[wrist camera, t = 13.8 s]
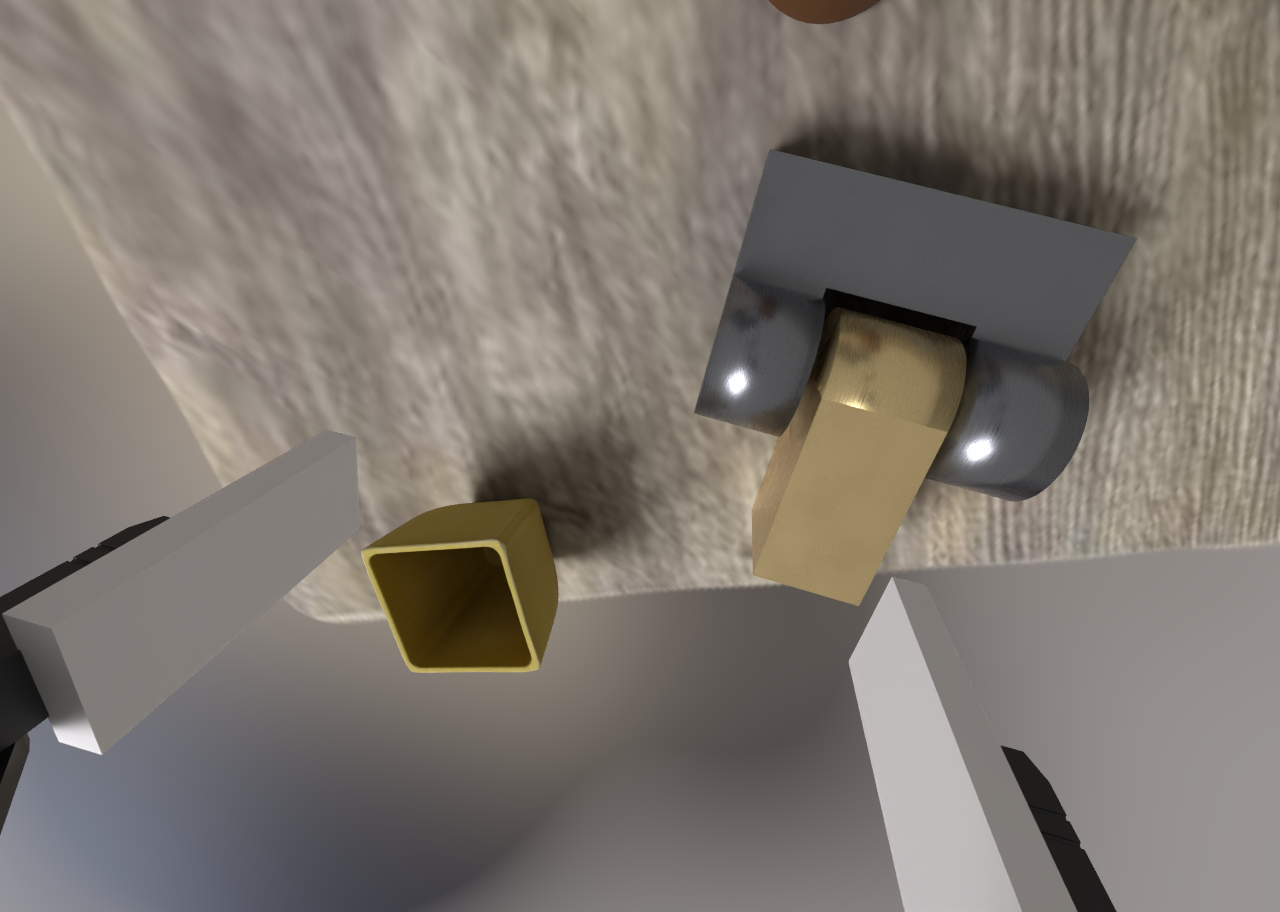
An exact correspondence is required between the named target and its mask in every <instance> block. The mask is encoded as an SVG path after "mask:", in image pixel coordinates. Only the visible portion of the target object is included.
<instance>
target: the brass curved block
mask: <svg viewBox="0 0 1280 912" xmlns="http://www.w3.org/2000/svg"><path fill="white" fill-rule="evenodd" d="M965 377H966V353H965V349H964V346H963V344H962V343H961V341H960V340H959V339H957V338H955V337H951V336H947V335H943V334H939V333H936V332H932V331H928V330H924V329H920V328H916V327H912V326H909V325H905V324H901V323H897V322H893V321H889V320H885V319H882V318H878V317H874V316H870V315H866V314H862V313H858V312H855V311H851V310H847V309H843V308H839V307H836V308H835V309H833V310H832V311H831V312H830V314H829V315H828V317H827V318H826V320H825V321H824V325H823V330H822V335H821V339H820V343H819V347H818V351H817V354H816V358H815V361H814V364H813V368H812V371H811V374H810V377H809V380H808V382H807V385H806V388H805V391H804V393H803V396H802V398H801V401H800V403H799V406H798V408H797V410H796V412H795V414H794V416H793V418H792V420H791V422H790V424H789V426H788V427H787V429H786V430H785V432H784V433H783V434H782V435H781V436H779V437H778V440H777V443H776V446H775V448H774V451H773V454H772V456H771V459H770V462H769V465H768V467H767V470H766V473H765V476H764V478H763V481H762V484H761V486H760V489H759V492H758V495H757V497H756V500H755V503H754V506H753V508H752V549H753V575H755V576H758V577H762V578H765V579H768V580H772V581H775V582H779V583H782V584H785V585H789V586H792V587H796V588H799V589H802V590H806V591H809V592H813V593H816V594H819V595H823V596H826V597H830V598H833V599H836V600H840V601H843V602H847V603H850V604H853V605H857V606H859V605H860V603H861V601H862V599H863V597H864V595H865V593H866V591H867V589H868V587H869V585H870V583H871V581H872V579H873V577H874V576H875V574H876V572H877V570H878V568H879V566H880V564H881V562H882V560H883V558H884V556H885V554H886V552H887V550H888V548H889V546H890V544H891V542H892V540H893V538H894V536H895V534H896V532H897V531H898V529H899V527H900V525H901V523H902V521H903V519H904V517H905V515H906V513H907V511H908V509H909V507H910V505H911V503H912V501H913V499H914V497H915V495H916V493H917V491H918V489H919V487H920V486H921V484H922V482H923V480H924V478H925V476H926V474H927V472H928V470H929V468H930V466H931V464H932V462H933V460H934V458H935V456H936V454H937V452H938V450H939V448H940V446H941V444H942V442H943V441H944V439H945V437H946V435H947V433H948V431H949V429H950V426H951V424H952V422H953V420H954V417H955V415H956V412H957V409H958V406H959V404H960V400H961V397H962V393H963V388H964V384H965Z"/></svg>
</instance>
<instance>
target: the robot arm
mask: <svg viewBox="0 0 1280 912" xmlns="http://www.w3.org/2000/svg"><path fill="white" fill-rule="evenodd" d="M359 529H360V519H359V498H358V477H357V456H356V437H353V436H349V435H345V434H341V433H337V432H334V431H330V430H325V431H323V432H321V433H320V434H318V435H316V436H314V437H312V438H311V439H309V440H307V441H305V442H304V443H302V444H300V445H298V446H297V447H295V448H293V449H291V450H290V451H288V452H286V453H284V454H283V455H281V456H279V457H277V458H275V459H274V460H272V461H270V462H268V463H267V464H265V465H263V466H261V467H260V468H258V469H256V470H254V471H253V472H251V473H249V474H247V475H246V476H244V477H242V478H240V479H238V480H237V481H235V482H233V483H231V484H230V485H228V486H226V487H224V488H223V489H221V490H219V491H217V492H216V493H214V494H212V495H210V496H209V497H207V498H205V499H203V500H202V501H200V502H198V503H196V504H194V505H193V506H191V507H189V508H188V509H186V510H184V511H182V512H180V513H179V514H177V515H175V516H173V517H172V518H170V517H166V516H162V517H159V518H156V519H153V520H150V521H147V522H144V523H141V524H137V525H135V526H132V527H129V528H127V529H125V530H123V531H121V532H119V533H117V534H116V535H114V536H112V537H110V538H108V539H106V540H104V541H103V542H101V543H99V544H98V547H96V548H94V547H92V548H90V549H88V550H86V551H84V552H82V553H81V554H79V555H77V556H75V557H74V558H73V560H72V561H71V562H69V561H66V562H64V563H62V564H60V565H58V566H57V567H55V568H53V569H51V570H49V571H47V572H46V573H44V574H42V575H40V576H38V577H37V578H35V579H33V580H31V581H29V582H27V583H25V584H24V585H22V586H20V587H18V588H16V589H14V590H13V591H11V592H9V593H7V594H5V595H3V596H2V597H0V834H1V831H2V828H3V825H4V822H5V819H6V817H7V814H8V811H9V808H10V805H11V802H12V799H13V796H14V794H15V790H16V788H17V785H18V782H19V779H20V776H21V773H22V770H23V767H24V764H25V762H26V759H27V756H28V753H29V744H30V743H29V742H30V738H29V736H28V734H27V733H28V732H29V731H30V730H32V729H33V728H34V727H35V726H37V725H38V724H39V723H41V722H42V721H44V720H45V719H46V718H47V717H48V718H49V721H50V723H51V725H52V727H53V730H54V732H55V734H56V736H57V738H58V740H59V742H62V743H65V744H68V745H72V746H75V747H78V748H81V749H84V750H88V751H91V752H94V753H97V754H101V755H103V754H104V753H105V752H106V751H107V750H108V749H110V748H111V747H112V746H113V745H114V744H115V743H116V742H117V741H119V740H120V739H121V738H122V737H123V736H124V735H126V734H127V733H128V732H129V731H130V730H131V729H132V728H134V726H136V725H137V724H138V723H139V722H140V721H142V720H143V719H144V718H145V717H146V716H147V715H148V714H150V713H151V712H152V711H153V710H154V709H155V708H156V707H158V706H159V705H160V704H161V703H162V702H163V701H164V700H166V699H167V698H168V697H169V696H170V695H171V694H172V693H173V692H175V691H176V690H177V689H178V688H179V687H180V686H181V685H183V684H184V683H185V682H186V681H187V680H188V679H189V678H191V677H192V676H193V675H194V674H195V673H196V672H197V671H199V670H200V669H201V668H202V667H203V666H204V665H205V664H207V663H208V662H209V661H210V660H211V659H212V658H213V657H215V656H216V655H217V654H218V653H219V652H220V651H221V650H223V648H225V646H227V645H228V644H229V643H231V642H232V641H233V640H234V639H235V638H236V637H237V636H239V635H240V634H241V633H242V632H243V631H244V630H245V629H246V628H247V627H249V626H250V625H251V624H252V623H253V622H254V621H256V620H257V619H258V618H259V617H260V616H261V615H262V614H263V613H265V612H266V611H267V610H268V609H269V608H270V607H271V606H273V605H274V604H275V603H276V602H277V601H278V600H280V599H281V598H282V597H283V596H284V595H285V594H286V593H288V592H289V591H290V590H291V589H292V588H293V587H294V586H296V585H297V584H298V583H299V582H300V581H301V580H302V579H304V578H305V577H306V576H307V575H308V574H309V573H310V572H312V571H313V570H314V569H315V568H316V567H317V566H318V565H320V564H321V563H322V562H323V561H324V560H325V559H326V558H327V557H329V556H330V555H331V554H332V553H333V552H334V551H335V550H337V549H338V548H339V547H340V546H341V545H342V544H343V543H345V542H346V541H347V540H348V539H349V538H350V537H351V536H353V535H354V534H355V533H356V532H357V531H358V530H359ZM849 665H850V670H851V674H852V679H853V683H854V688H855V692H856V697H857V701H858V705H859V710H860V714H861V719H862V723H863V728H864V732H865V737H866V741H867V746H868V750H869V754H870V758H871V763H872V768H873V772H874V777H875V781H876V786H877V790H878V795H879V799H880V803H881V808H882V812H883V817H884V821H885V826H886V830H887V835H888V839H889V843H890V848H891V852H892V857H893V861H894V865H895V870H896V875H897V879H898V884H899V887H900V892H901V897H902V901H903V906H904V910H905V912H1116V910H1115V908H1114V906H1113V904H1112V902H1111V900H1110V898H1109V896H1108V894H1107V893H1106V890H1105V889H1104V887H1103V885H1102V883H1101V881H1100V879H1099V877H1098V875H1097V873H1096V871H1095V869H1094V867H1093V865H1092V864H1091V862H1090V860H1089V858H1088V856H1087V854H1086V852H1085V850H1083V849H1081V848H1080V840H1079V838H1078V837H1077V835H1076V833H1075V831H1074V829H1073V827H1072V825H1071V823H1070V822H1069V821H1067V820H1066V814H1065V811H1064V810H1063V808H1062V806H1061V804H1060V802H1059V800H1058V798H1057V796H1056V794H1055V792H1054V790H1053V788H1052V786H1051V785H1050V783H1049V781H1048V780H1047V779H1046V778H1045V777H1044V776H1043V774H1042V773H1041V772H1040V771H1039V770H1038V768H1037V767H1036V766H1035V765H1034V764H1033V762H1032V761H1031V760H1030V759H1029V758H1028V757H1027V756H1026V754H1025V753H1024V752H1023V751H1019V750H1015V749H1012V748H1008V747H1004V746H1001V745H1000V744H999V742H998V740H997V738H996V736H995V733H994V731H993V729H992V727H991V725H990V723H989V720H988V718H987V716H986V714H985V712H984V710H983V707H982V706H981V703H980V701H979V699H978V697H977V695H976V692H975V690H974V688H973V686H972V684H971V682H970V679H969V677H968V675H967V673H966V671H965V669H964V667H963V664H962V662H961V660H960V658H959V656H958V654H957V651H956V649H955V647H954V645H953V643H952V641H951V639H950V636H949V634H948V632H947V630H946V628H945V626H944V623H943V621H942V619H941V617H940V615H939V613H938V611H937V608H936V606H935V604H934V602H933V600H932V598H931V596H930V594H929V591H928V589H927V587H926V585H922V584H918V583H915V582H911V581H907V580H903V579H899V578H895V577H892V578H891V580H890V582H889V584H888V586H887V588H886V590H885V592H884V594H883V596H882V598H881V600H880V602H879V603H878V605H877V607H876V609H875V611H874V613H873V615H872V617H871V619H870V621H869V623H868V625H867V627H866V629H865V631H864V633H863V635H862V637H861V639H860V640H859V642H858V644H857V646H856V648H855V650H854V652H853V654H852V656H851V658H850V660H849Z"/></svg>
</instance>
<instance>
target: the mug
mask: <svg viewBox="0 0 1280 912" xmlns="http://www.w3.org/2000/svg"><path fill="white" fill-rule="evenodd" d="M769 1H770V2H771V3H772V4H773V5H774V6H775V7H776V8H777V9H778V10H780V11H781V12H783V13H784V14H786V15H787V16H789V17H792V18H794V19H796V20H799V21H802V22H806V23H814V24H827V23H834V22H838V21H842V20H845V19H848V18H851V17H853V16H856V15H857V14H859V13H861V12H863V11H865V10H867V9H868V8H870V7H871V6H873V5H874V4H876V3H877V2H878V1H879V0H769Z"/></svg>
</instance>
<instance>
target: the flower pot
mask: <svg viewBox="0 0 1280 912" xmlns="http://www.w3.org/2000/svg"><path fill="white" fill-rule="evenodd" d="M361 553H362V558H363V561H364V564H365V567H366V569H367V573H368V575H369V578H370V580H371V583H372V585H373V587H374V590H375V592H376V594H377V597H378V599H379V601H380V604H381V607H382V609H383V611H384V613H385V616H386V618H387V620H388V622H389V625H390V628H391V630H392V633H393V635H394V637H395V639H396V642H397V644H398V647H399V650H400V652H401V654H402V657H403V659H404V661H405V662H406V664H407V666H408V668H409V669H410V670H411V671H412V672H420V673H440V672H528V671H534V670H538V669H539V668H540V665H541V662H542V658H543V655H544V652H545V649H546V646H547V642H548V639H549V635H550V632H551V629H552V626H553V622H554V618H555V615H556V610H557V605H558V581H557V574H556V569H555V564H554V560H553V556H552V553H551V549H550V546H549V542H548V538H547V535H546V531H545V527H544V523H543V519H542V516H541V512H540V508H539V505H538V502H537V501H536V500H535V499H531V498H526V499H515V500H503V501H492V502H479V503H466V504H457V505H450V506H445V507H441V508H437V509H434V510H431V511H428V512H425V513H423V514H421V515H419V516H417V517H415V518H413V519H411V520H410V521H408V522H407V523H405V524H403V525H402V526H400V527H398V528H397V529H395V530H393V531H392V532H390V533H389V534H387V535H385V536H384V537H382V538H381V539H379V540H377V541H376V542H374V543H373V544H371V545H369V546H368V547H366V548H365V549H363V550H362V551H361Z"/></svg>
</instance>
